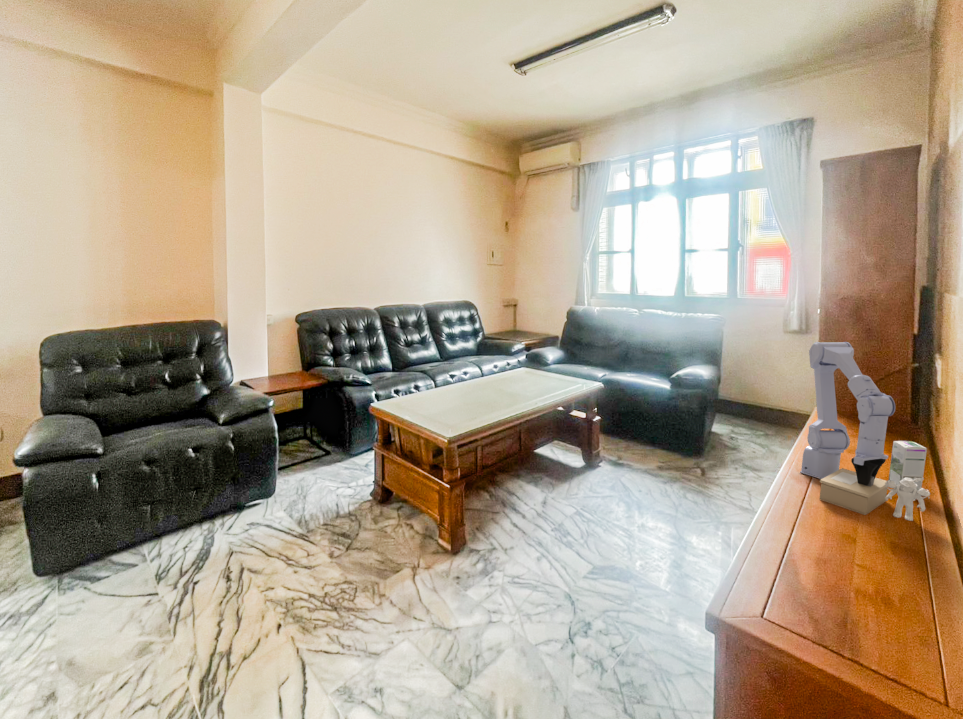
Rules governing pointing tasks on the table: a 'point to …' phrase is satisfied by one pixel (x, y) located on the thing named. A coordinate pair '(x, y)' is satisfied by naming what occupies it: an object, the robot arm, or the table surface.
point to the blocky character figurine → (907, 496)
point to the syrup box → (907, 462)
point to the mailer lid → (853, 483)
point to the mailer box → (852, 499)
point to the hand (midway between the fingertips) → (865, 482)
